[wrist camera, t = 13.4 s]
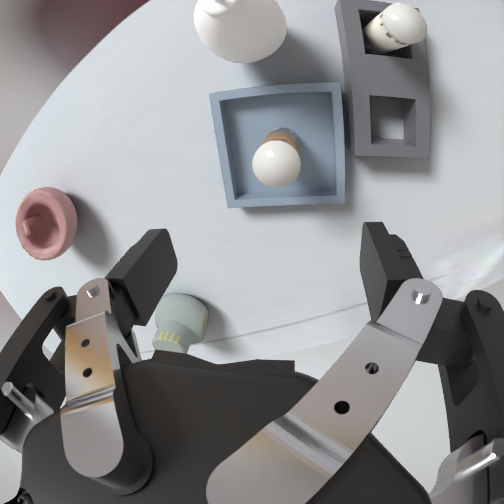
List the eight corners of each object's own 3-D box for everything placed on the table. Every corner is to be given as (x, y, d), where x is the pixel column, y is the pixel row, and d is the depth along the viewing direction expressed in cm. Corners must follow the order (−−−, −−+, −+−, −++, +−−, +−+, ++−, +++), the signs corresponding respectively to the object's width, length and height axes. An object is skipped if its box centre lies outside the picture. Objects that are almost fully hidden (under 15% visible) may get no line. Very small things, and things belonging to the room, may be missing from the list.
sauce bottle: (208, 31, 24) (124, -9, 10) (264, -1, 21) (230, -76, 6) (242, 78, 28) (182, 68, 13) (301, 48, 24) (305, 0, 10)
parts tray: (216, 93, 29) (209, 93, 26) (336, 83, 26) (340, 82, 24) (233, 198, 36) (228, 208, 34) (341, 194, 34) (344, 203, 31)
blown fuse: (263, 128, 30) (249, 143, 22) (298, 126, 29) (298, 140, 21) (267, 160, 32) (255, 188, 24) (300, 158, 31) (302, 186, 23)
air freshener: (165, 279, 46) (140, 321, 38) (210, 291, 46) (193, 337, 38) (167, 321, 52) (148, 360, 44) (207, 332, 52) (192, 374, 44)
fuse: (358, 23, 21) (381, -1, 13) (390, 26, 21) (423, 7, 12) (362, 52, 23) (388, 39, 15) (394, 55, 23) (429, 46, 14)
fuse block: (334, 7, 21) (339, -2, 17) (406, 15, 19) (418, 8, 16) (348, 148, 30) (355, 155, 27) (415, 150, 28) (428, 159, 25)
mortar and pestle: (99, 206, 40) (55, 243, 31) (79, 247, 46) (43, 284, 36) (55, 163, 37) (8, 190, 27) (41, 209, 42) (2, 238, 33)
